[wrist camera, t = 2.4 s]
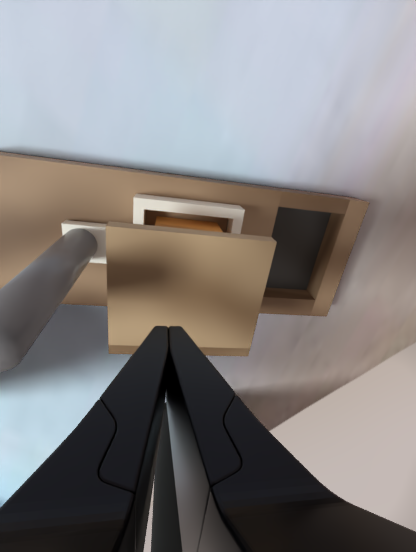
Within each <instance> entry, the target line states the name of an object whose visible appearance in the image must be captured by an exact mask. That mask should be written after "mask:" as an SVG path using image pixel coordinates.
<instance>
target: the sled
mask: <svg viewBox="0 0 416 552" xmlns="http://www.w3.org/2000/svg"><path fill="white" fill-rule="evenodd" d="M146 209H147V210H156V211H166V212H175V213H184V214H194V215H203V216H213V217H222V218H228V224H227V230H226V233H234V234H240V233H241V228H242V223H243V217H244V212H245V210H244V209H243V208H242V207H241V206H240V205H232V204H223V203H214V202H206V201H197V200H188V199H180V198H171V197H162V196H154V195H145V194H136V195H135V196H134V197H133V224H142V225H145V214H146ZM61 225H62V235H63V236H62V237H61V238H60V239H59V240H57V241H56V242H55V243H54V244H53V245H51V246H50V247H49V248H48V249H47V250H46V251H44V252H43V253H42V254H41V255H40V256H39V257H37V258H36V259H35V260H34V261H33V262H32V263H30V264H29V265H28V266H27V267H26V268H25V269H23V270H22V271H21V272H20V273H19V274H18V275H16V276H15V277H14V278H13V279H12V280H10V281H9V282H8V283H7V284H6V285H5V286H3V287H2V288H1V289H0V372H4V371H7V370H10V369H12V368H14V367H16V366H17V365H18V364H19V363H20V362H21V360H22V359H23V357H24V356H25V355H26V353H27V352H28V350H29V349H30V347H31V346H32V344H33V343H34V341H35V340H36V339H37V337H38V336H39V334H40V333H41V331H42V330H43V328H44V327H45V325H46V324H47V323H48V321H49V320H50V318H51V317H52V315H53V314H54V312H55V311H56V309H57V308H58V307H59V305H60V304H61V302H62V301H63V299H64V298H65V296H66V295H67V294H68V292H69V291H70V289H71V288H72V286H73V285H74V283H75V282H76V280H77V279H78V278H79V276H80V275H81V273H82V272H83V270H84V269H85V267H86V266H87V264H88V263H89V262H90V263H104V264H106V225H107V224H101V223H91V222H80V221H70V220H65V221H64V222H63V223H61Z"/></svg>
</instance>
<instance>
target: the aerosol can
mask: <svg viewBox="0 0 416 552" xmlns="http://www.w3.org/2000/svg"><path fill="white" fill-rule="evenodd" d="M151 541H152V542H151V552H182V542H181V533H180V524H179V515H178V505H177V496H176V487H175V478H174V469H173V459H172V450H171V441H170V432H169V422H168V413H167V403H165V406H164V413H163V420H162V427H161V434H160V440H159V447H158V454H157V461H156V468H155V478H154V498H153V520H152V540H151Z"/></svg>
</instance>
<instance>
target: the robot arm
mask: <svg viewBox="0 0 416 552" xmlns="http://www.w3.org/2000/svg"><path fill="white" fill-rule="evenodd" d="M165 397H166V403H167V413H168V422H169V432H170V441H171V450H172V459H173V469H174V478H175V487H176V496H177V505H178V515H179V524H180V533H181V542H182V552H416V532H415V531H413V530H410V529H408V528H406V527H404V526H401V525H399V524H396V523H394V522H392V521H390V520H387V519H385V518H383V517H380V516H378V515H376V514H374V513H371V512H369V511H367V510H364V509H362V508H360V507H357V506H355V505H353V504H351V503H349V502H346V501H345V500H343V499H342V498H340V497H338V496H337V495H336V494H334V493H333V492H331V491H330V490H329V489H328V488H326V487H325V486H324V485H323V484H321V483H320V482H319V481H318V480H317V479H316V478H315V477H314V476H313V475H312V474H311V473H310V472H309V471H308V470H307V469H306V468H305V467H304V466H303V465H302V464H301V463H300V462H299V461H298V460H297V459H296V458H295V457H294V456H293V455H292V454H291V453H290V452H289V451H288V450H287V449H286V448H285V447H284V446H283V445H282V444H281V443H280V442H279V441H278V440H277V439H276V438H275V437H274V436H273V435H272V434H271V433H270V432H269V431H268V430H267V429H266V428H265V427H264V426H263V425H262V424H261V423H260V421H259V420H258V419H257V418H256V417H255V416H254V415H253V414H252V412H251V411H250V410H249V409H248V408H247V407H246V405H245V404H244V403H243V402H242V400H241V399H240V398H239V397H238V396H237V395H236V393H235V392H234V391H233V389H232V388H231V387H230V386H229V384H228V383H227V382H226V381H225V379H224V378H223V377H222V376H221V375H220V373H219V372H218V371H217V370H216V368H215V367H214V366H213V365H212V363H211V362H210V361H209V360H208V358H207V357H206V356H205V355H204V353H203V352H202V351H201V350H200V349H199V347H198V346H197V345H196V344H195V342H194V341H193V340H192V339H191V337H190V336H189V335H188V334H187V332H186V331H185V330H184V329H183V327H181V326H169V327H167V326H155V327H154V328H153V329H152V330H151V332H150V333H149V334H148V336H147V337H146V338H145V339H144V341H143V342H142V343H141V345H140V346H139V347H138V349H137V350H136V351H135V352H134V354H133V355H132V356H131V358H130V359H129V360H128V362H127V363H126V364H125V365H124V367H123V368H122V369H121V371H120V372H119V373H118V375H117V376H116V377H115V379H114V380H113V381H112V382H111V384H110V385H109V386H108V388H107V389H106V390H105V392H104V393H103V394H102V395H101V397H100V400H97V402H96V403H95V404H94V406H93V407H92V408H91V410H90V411H89V412H88V413H87V415H86V416H85V417H84V418H83V419H82V421H81V422H80V423H79V424H78V426H77V427H76V428H75V429H74V430H73V431H72V433H71V434H70V435H69V436H68V437H67V438H66V439H65V440H64V441H63V442H62V443H61V445H60V446H59V447H58V448H57V449H56V450H55V451H54V452H53V453H52V454H51V455H50V456H49V457H48V458H47V459H46V460H45V461H44V463H43V464H42V465H41V466H40V467H39V468H38V469H37V470H36V471H35V472H34V473H33V474H32V475H31V476H30V477H29V478H28V479H27V480H26V481H25V482H24V484H23V485H22V486H21V487H20V488H19V489H18V490H17V491H16V492H15V493H14V494H13V495H12V496H11V497H10V498H9V499H8V500H7V501H6V502H5V503H4V504H3V506H2V507H1V508H0V552H143V550H144V543H145V536H146V529H147V522H148V516H149V509H150V502H151V495H152V488H153V481H154V475H155V468H156V461H157V454H158V447H159V440H160V434H161V427H162V420H163V413H164V406H165Z"/></svg>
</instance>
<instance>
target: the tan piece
mask: <svg viewBox="0 0 416 552" xmlns="http://www.w3.org/2000/svg"><path fill="white" fill-rule="evenodd" d="M136 194H145V195H154V196H162V197H171V198H180V199H188V200H197V201H206V202H214V203H223V204H232V205H240V206H241V207H242V208H243V209H244V210H245V212H244V217H243V223H242V228H241V233H240V234H234V233H226V230H227V224H228V218H222V217H213V216H203V215H194V214H184V213H175V212H166V211H156V210H147V209H146V214H145V225H142V224H133V197H134V196H135V195H136ZM369 203H370V202H366V201H363V200H359V199H356V198H353V197H345V196H338V195H330V194H322V193H315V192H307V191H299V190H291V189H284V188H276V187H268V186H261V185H253V184H245V183H238V182H230V181H222V180H214V179H207V178H199V177H191V176H184V175H176V174H168V173H161V172H153V171H145V170H137V169H130V168H122V167H114V166H107V165H99V164H91V163H84V162H76V161H68V160H61V159H53V158H45V157H37V156H30V155H22V154H14V153H7V152H0V289H1V288H2V287H3V286H5V285H6V284H7V283H8V282H9V281H10V280H12V279H13V278H14V277H15V276H16V275H18V274H19V273H20V272H21V271H22V270H23V269H25V268H26V267H27V266H28V265H29V264H30V263H32V262H33V261H34V260H35V259H36V258H37V257H39V256H40V255H41V254H42V253H43V252H44V251H46V250H47V249H48V248H49V247H50V246H51V245H53V244H54V243H55V242H56V241H57V240H59V239H60V238H61V237H62V236H63V235H62V225H61V223H63V222H64V221H65V220H70V221H80V222H91V223H101V224H107V225H106V264H104V263H90V262H89V263H88V264H87V266H86V267H85V269H84V270H83V272H82V273H81V275H80V276H79V278H78V279H77V280H76V282H75V283H74V285H73V286H72V288H71V289H70V291H69V292H68V294H67V295H66V296H65V298H64V299H63V301H62V302H61V304H72V305H94V306H108V346H109V354H134V352H135V351H136V350H137V349H138V347H139V346H140V345H141V343H142V342H143V341H144V339H145V338H146V337H147V336H148V334H149V333H150V332H151V330H152V329H153V328H154V327H155V326H167V327H169V326H181V327H183V329H184V330H185V331H186V332H187V334H188V335H189V336H190V337H191V339H192V340H193V341H194V342H195V344H196V345H197V346H198V347H199V349H200V350H201V351H202V352H203V353H204V355H207V356H248V355H249V351H250V347H251V343H252V339H253V335H254V331H255V327H256V323H257V319H258V315H259V313H266V314H287V315H308V316H327V314H328V311H329V309H330V306H331V303H332V301H333V298H334V295H335V293H336V290H337V287H338V285H339V282H340V279H341V277H342V274H343V272H344V269H345V266H346V264H347V261H348V258H349V256H350V253H351V250H352V248H353V245H354V242H355V240H356V237H357V234H358V232H359V229H360V226H361V224H362V221H363V219H364V216H365V213H366V211H367V208H368V205H369ZM157 216H159V217H169V218H179V219H188V220H198V221H208V222H217V223H218V225H219V226H220V228H221V230H222V231H223V232H214V231H204V230H193V229H183V228H173V227H162V226H155V222H156V217H157Z"/></svg>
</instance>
